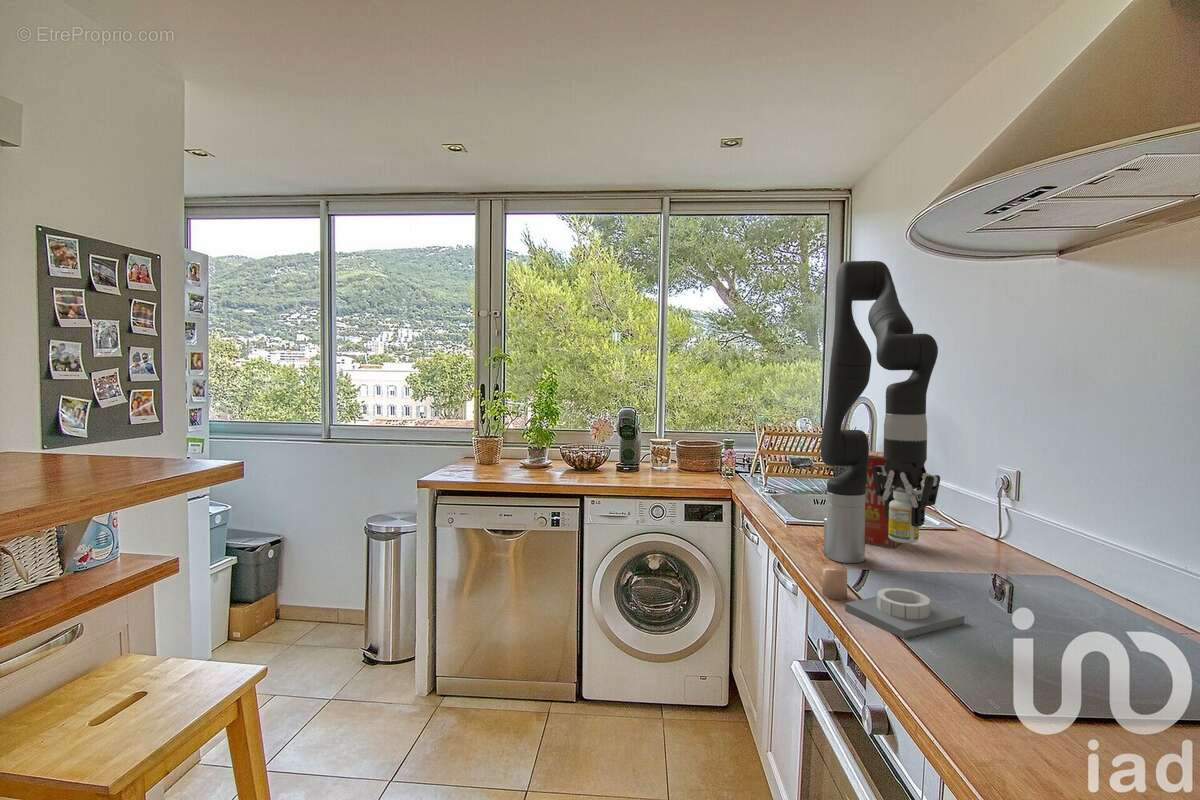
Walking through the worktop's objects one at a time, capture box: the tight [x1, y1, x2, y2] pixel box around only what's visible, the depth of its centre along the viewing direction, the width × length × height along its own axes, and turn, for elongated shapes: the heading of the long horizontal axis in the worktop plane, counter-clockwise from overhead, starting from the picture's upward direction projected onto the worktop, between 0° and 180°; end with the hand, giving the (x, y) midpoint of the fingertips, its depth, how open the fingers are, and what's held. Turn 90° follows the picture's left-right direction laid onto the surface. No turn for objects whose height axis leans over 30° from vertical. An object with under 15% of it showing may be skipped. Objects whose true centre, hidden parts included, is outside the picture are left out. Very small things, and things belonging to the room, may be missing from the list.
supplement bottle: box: [888, 489, 920, 544], centre depth 117 cm, size 5×5×10 cm
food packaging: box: [846, 450, 905, 549], centre depth 168 cm, size 13×9×25 cm
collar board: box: [844, 587, 965, 639], centre depth 118 cm, size 14×16×4 cm
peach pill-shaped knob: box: [821, 563, 848, 601], centre depth 129 cm, size 5×5×6 cm
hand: (903, 522), depth 117 cm, fingers closed on supplement bottle, 5 cm apart
